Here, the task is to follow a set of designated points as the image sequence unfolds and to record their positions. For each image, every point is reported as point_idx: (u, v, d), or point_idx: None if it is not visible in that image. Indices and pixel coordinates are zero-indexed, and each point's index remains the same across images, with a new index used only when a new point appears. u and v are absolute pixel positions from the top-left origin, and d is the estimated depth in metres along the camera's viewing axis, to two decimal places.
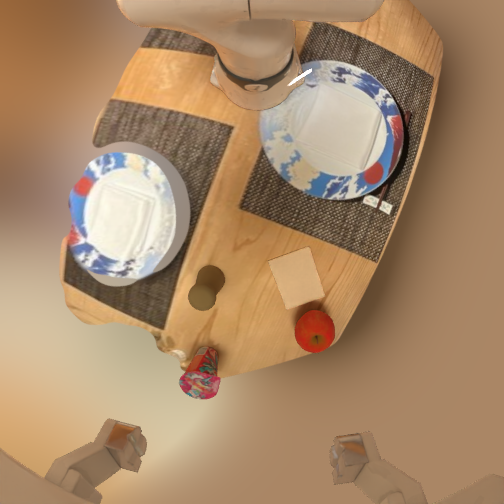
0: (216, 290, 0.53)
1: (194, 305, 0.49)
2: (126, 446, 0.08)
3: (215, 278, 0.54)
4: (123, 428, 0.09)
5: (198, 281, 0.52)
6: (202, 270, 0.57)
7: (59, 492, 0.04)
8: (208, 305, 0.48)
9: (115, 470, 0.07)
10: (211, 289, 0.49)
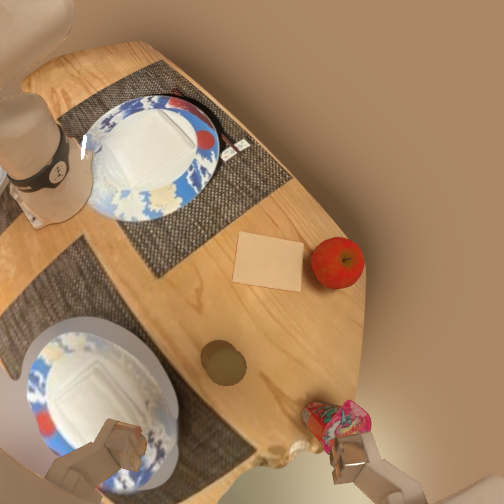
0: None
1: (230, 380, 0.31)
2: (126, 446, 0.08)
3: (217, 346, 0.38)
4: (123, 428, 0.09)
5: None
6: (202, 359, 0.40)
7: (59, 492, 0.04)
8: (240, 362, 0.32)
9: (115, 470, 0.07)
10: (221, 348, 0.33)
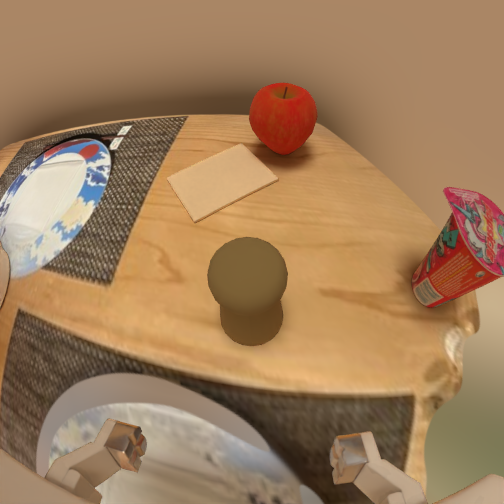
0: None
1: (267, 279, 0.16)
2: (126, 446, 0.08)
3: None
4: (123, 428, 0.09)
5: (228, 313, 0.20)
6: (228, 330, 0.24)
7: (59, 492, 0.04)
8: (257, 242, 0.17)
9: (115, 470, 0.07)
10: None
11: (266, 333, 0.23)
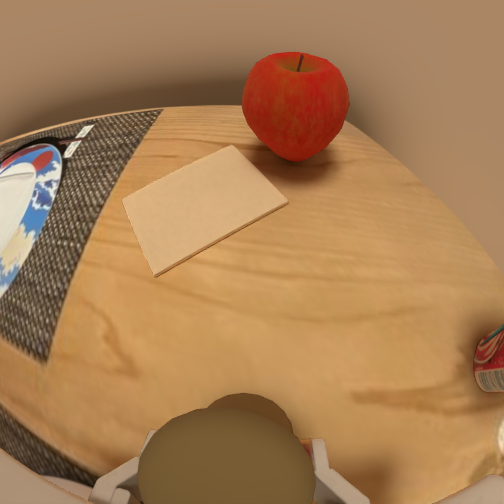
0: None
1: None
2: None
3: None
4: None
5: None
6: None
7: (59, 492, 0.04)
8: (246, 447, 0.05)
9: None
10: (154, 434, 0.06)
11: None
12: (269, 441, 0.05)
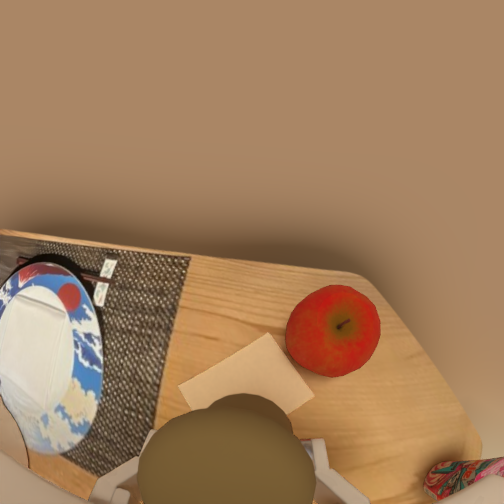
0: None
1: None
2: None
3: None
4: None
5: None
6: None
7: (59, 492, 0.04)
8: (246, 447, 0.05)
9: None
10: (154, 434, 0.06)
11: None
12: (269, 441, 0.05)
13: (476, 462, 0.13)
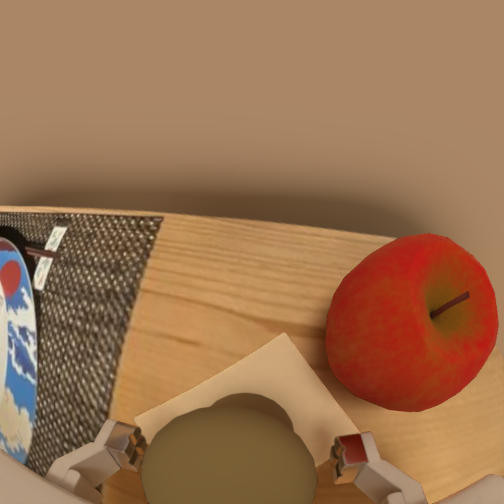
0: None
1: None
2: (126, 446, 0.08)
3: None
4: (123, 428, 0.09)
5: None
6: None
7: (59, 492, 0.04)
8: (248, 444, 0.05)
9: (115, 470, 0.07)
10: (157, 433, 0.06)
11: None
12: (271, 438, 0.06)
13: None
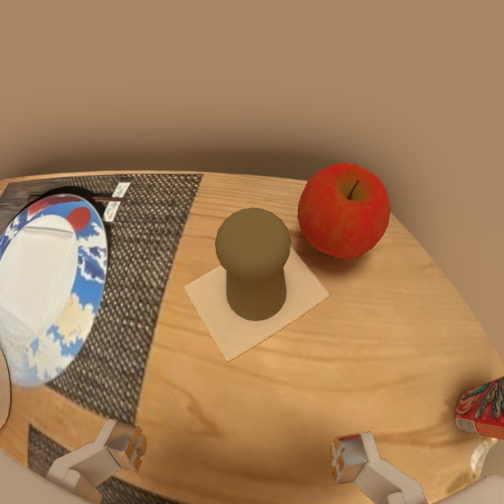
0: None
1: (272, 244, 0.17)
2: (126, 446, 0.08)
3: None
4: (123, 428, 0.09)
5: (234, 283, 0.21)
6: (233, 305, 0.25)
7: (59, 492, 0.04)
8: (262, 212, 0.19)
9: (115, 470, 0.07)
10: None
11: (270, 306, 0.24)
12: (270, 212, 0.19)
13: None
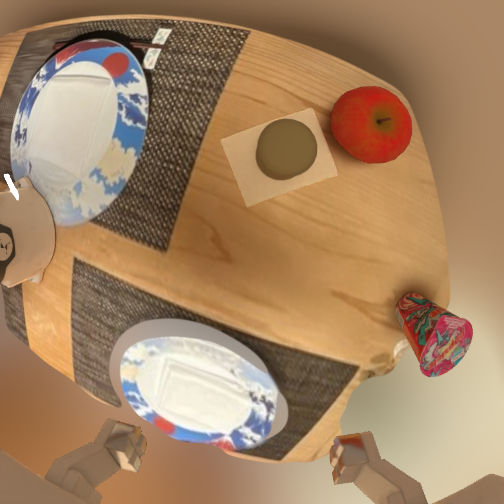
0: None
1: (301, 160, 0.21)
2: (126, 446, 0.08)
3: None
4: (123, 428, 0.09)
5: None
6: (260, 166, 0.30)
7: (59, 492, 0.04)
8: (301, 129, 0.20)
9: (115, 470, 0.07)
10: (267, 125, 0.22)
11: (289, 176, 0.30)
12: (307, 129, 0.21)
13: (442, 309, 0.28)
